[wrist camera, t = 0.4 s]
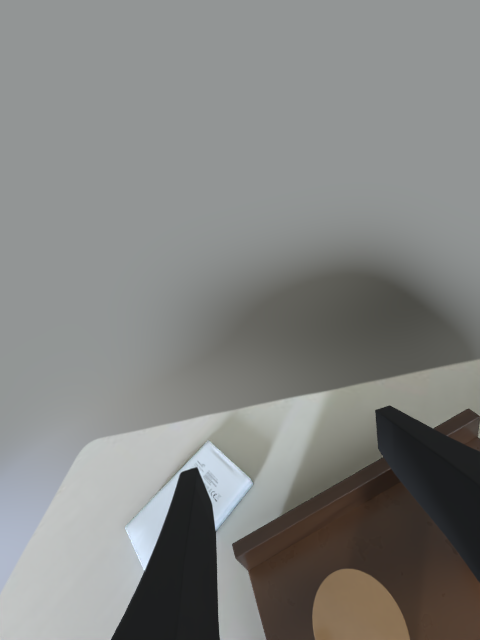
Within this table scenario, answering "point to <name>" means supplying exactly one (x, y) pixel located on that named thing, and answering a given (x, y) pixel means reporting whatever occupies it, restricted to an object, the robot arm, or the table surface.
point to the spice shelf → (365, 554)
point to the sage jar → (356, 609)
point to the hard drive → (216, 473)
